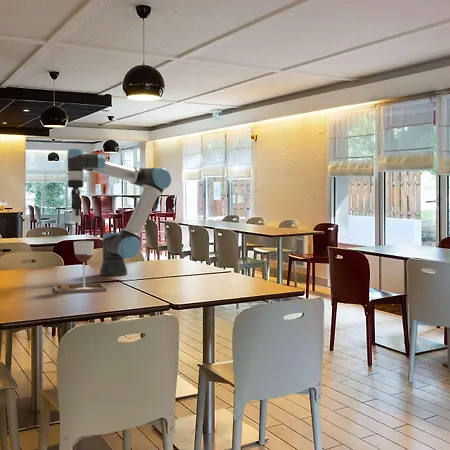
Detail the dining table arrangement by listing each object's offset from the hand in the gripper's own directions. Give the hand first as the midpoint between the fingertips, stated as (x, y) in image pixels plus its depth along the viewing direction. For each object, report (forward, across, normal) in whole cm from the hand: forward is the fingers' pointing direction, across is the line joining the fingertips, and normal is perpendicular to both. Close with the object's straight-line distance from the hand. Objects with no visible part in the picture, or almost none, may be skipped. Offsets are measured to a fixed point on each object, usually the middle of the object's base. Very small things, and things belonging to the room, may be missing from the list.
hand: (75, 221), depth 291 cm
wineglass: (+30, +28, +1) cm, 41 cm away
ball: (+30, +33, -8) cm, 45 cm away
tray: (+31, +29, -1) cm, 42 cm away
